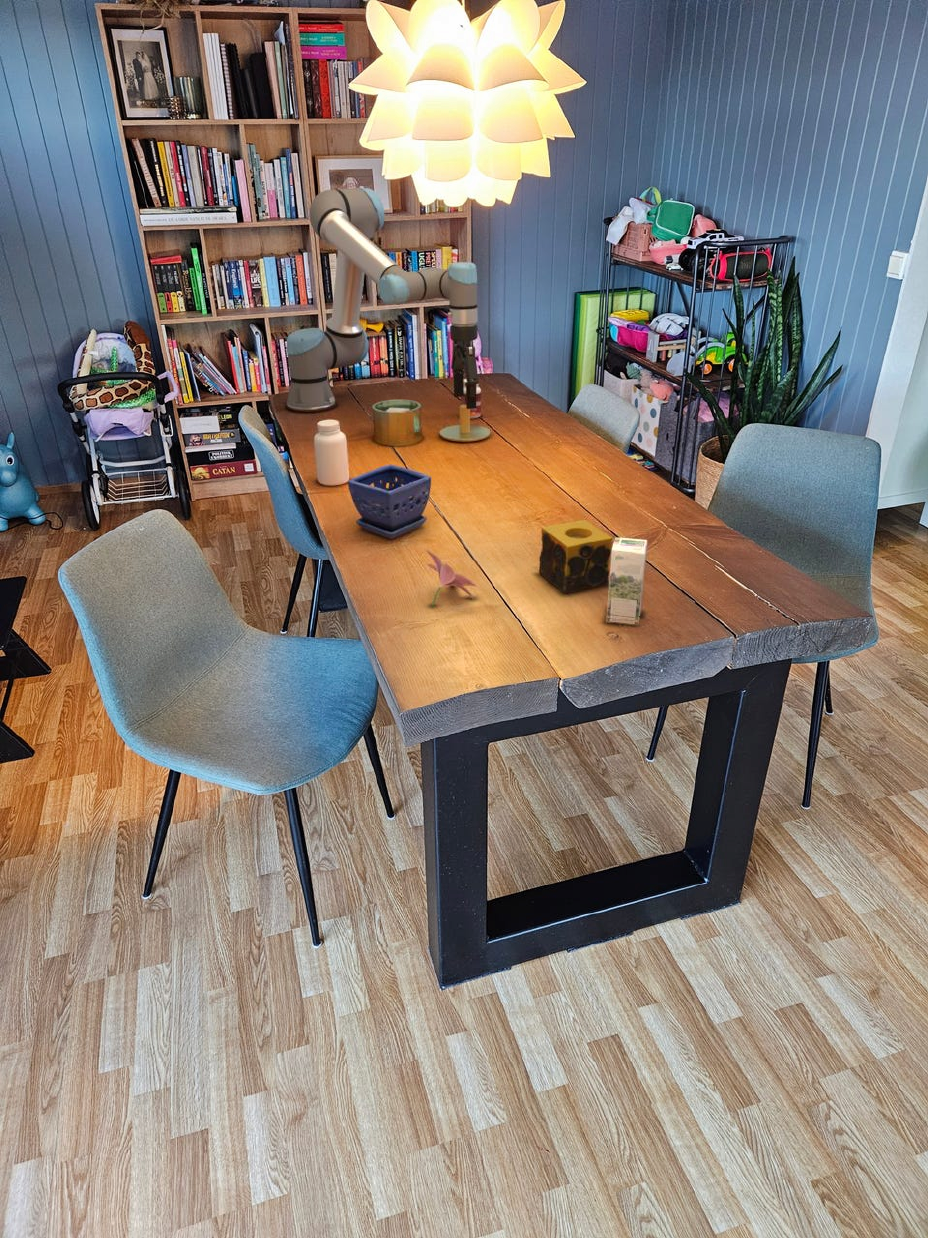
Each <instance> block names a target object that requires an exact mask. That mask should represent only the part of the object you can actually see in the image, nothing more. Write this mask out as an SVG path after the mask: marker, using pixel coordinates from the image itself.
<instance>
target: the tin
mask: <svg viewBox="0 0 928 1238" xmlns="http://www.w3.org/2000/svg"><path fill="white" fill-rule="evenodd" d="M389 408H406V409H410V410H408V411H402V412H387V411H386V410H388V409H389ZM371 409H372V424H373V425H372V426H373V439H374V442H375V443H376V444H378V445H382V446H388V447H404V446H405V447H406V446H412V445H414V444H417V443H419V442H421V441H422V440H423V423H422V405H421V403H420V402H418V401H415V400H411V399H387V400H386V399H385V400H381V401H378V402H375V403H374V404H372V407H371Z"/></svg>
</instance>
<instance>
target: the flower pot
mask: <svg viewBox="0 0 928 1238" xmlns="http://www.w3.org/2000/svg"><path fill="white" fill-rule="evenodd" d="M372 484H373V485H372ZM387 484H388V488H387ZM347 486H348V487H347V488H348V490H349V493H350V497H351V500H352V503H353V505H354V507H355V509H356V511H357V512H358V514H359V515H360V516H361V517H360V518H358V519H355V523H356V524H357V525H358V527H360V528H361V529H363V530H366V531H368V532H370V533H372V534H375V535H378V536H381V537H384V538H387V539H389V540H394V539H396V538H398V537H400V536H403V535H405V534H407V533H409V532H411V531H414V530H415V529H418V528H419V527H422V525H424V524H425V523H426V521H427V519H428V517H427V516H425V515H423V514H424V512H425V509H426V507H427V506H428V502H429V499H430V495H431V488H432V477H431V476H430V475H428V474H425V473H422V472H419V471H417V470H413V469H408V468H405V467H402V466H399V465H394V464H390V463H389V464H386V465H383V466H380V467H378V468H375V469H372V470H369V471H366V472H365V473H362V474H360V475H357V476H354V477H353V478H349V480H348V482H347Z"/></svg>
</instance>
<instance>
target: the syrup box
mask: <svg viewBox="0 0 928 1238" xmlns="http://www.w3.org/2000/svg"><path fill="white" fill-rule="evenodd" d="M612 543H613V544H612V546H611V554H610V566H609V578H608V591H607V592H608V593H607V594H608V595H607V606H606V607H607V608H606V619H605V620H606V621H605V622H606V623H607V624H608V623H609V624H616V625H617V624H618V625H626V626H635V627H636V626H639V622H640V617H639V616H641V611H642V597H643V588H644V587H643V586H644V578H645V568H646V561H647V552H648V551H647V550H648V540H647V539H639V538H638V539H637V538H631V537H630V538H629V537H619V536H618V537H617V536H615V537H614V540H613V542H612ZM609 618H611V619H609ZM617 619H628V620H639V621H638V622H635V621H626V620H617Z"/></svg>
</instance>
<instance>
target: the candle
mask: <svg viewBox="0 0 928 1238" xmlns="http://www.w3.org/2000/svg"><path fill="white" fill-rule="evenodd" d="M540 532H541V543H542V545H541V551H540V555H539V566H538V574H539V575H541V577H543V578H544V579H545V580H546V581H547V582H548V583H550V584H551V585H552V586H553V587H555V588H556V589H558V590H559V591H560V592H561V593H562V594H569V593H574V592H579V591H584V590H589V589H592V588H597V587H600V586H607V585H609V577H610V562H611V559H610V558H611V553H612V546H613V544H612V543H613V538H612V537H611V536H610V535H609V534H607V533H605V532H604V531H602V530H601V529H600V528H598V527H596V526H595V525H594V524H592V523H591V522H589V521H588V520H587V519H581V520H577V521H570V522H565V523H560V524H559V523H558V524H552V525H548V526H543V527H541V529H540Z"/></svg>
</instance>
